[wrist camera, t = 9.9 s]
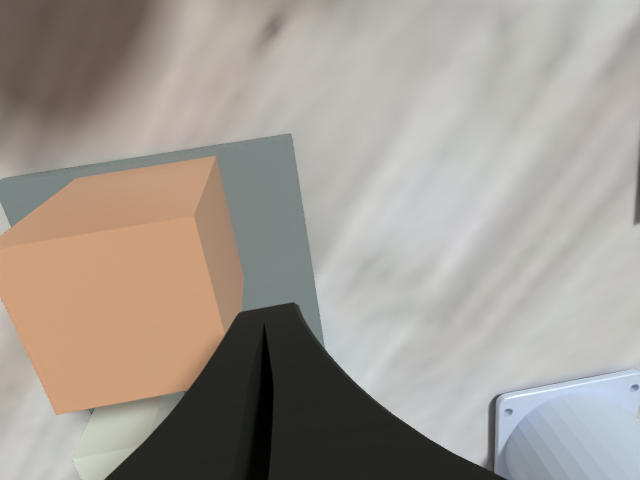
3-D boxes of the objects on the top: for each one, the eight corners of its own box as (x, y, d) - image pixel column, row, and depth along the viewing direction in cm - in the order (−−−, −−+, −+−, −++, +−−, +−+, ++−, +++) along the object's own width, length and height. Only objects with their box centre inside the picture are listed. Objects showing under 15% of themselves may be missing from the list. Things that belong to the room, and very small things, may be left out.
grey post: (186, 401, 22) (167, 496, 17) (130, 411, 22) (96, 510, 17) (172, 356, 21) (148, 444, 16) (113, 366, 21) (72, 459, 16)
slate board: (328, 375, 23) (330, 387, 23) (103, 417, 23) (98, 430, 22) (290, 133, 19) (292, 137, 18) (3, 178, 18) (-8, 184, 17)
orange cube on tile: (243, 277, 20) (236, 381, 14) (118, 298, 20) (56, 414, 14) (216, 155, 18) (193, 216, 12) (75, 178, 18) (-22, 252, 11)
